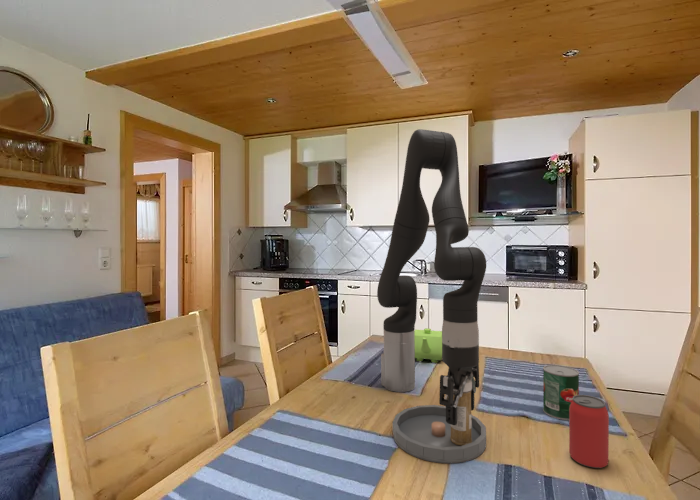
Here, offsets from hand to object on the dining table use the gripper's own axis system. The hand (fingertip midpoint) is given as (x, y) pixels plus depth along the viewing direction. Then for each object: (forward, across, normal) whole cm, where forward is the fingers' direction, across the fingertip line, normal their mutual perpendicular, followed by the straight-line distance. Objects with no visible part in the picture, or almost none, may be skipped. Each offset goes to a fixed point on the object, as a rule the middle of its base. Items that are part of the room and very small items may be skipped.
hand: (460, 416), depth 82 cm
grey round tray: (+6, 0, -5) cm, 8 cm away
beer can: (+6, -11, +22) cm, 25 cm away
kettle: (+7, -47, -34) cm, 59 cm away
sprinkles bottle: (+6, 0, 0) cm, 6 cm away
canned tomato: (+6, -30, +13) cm, 33 cm away
